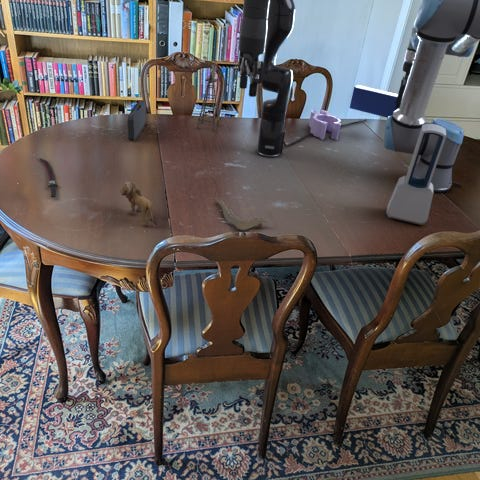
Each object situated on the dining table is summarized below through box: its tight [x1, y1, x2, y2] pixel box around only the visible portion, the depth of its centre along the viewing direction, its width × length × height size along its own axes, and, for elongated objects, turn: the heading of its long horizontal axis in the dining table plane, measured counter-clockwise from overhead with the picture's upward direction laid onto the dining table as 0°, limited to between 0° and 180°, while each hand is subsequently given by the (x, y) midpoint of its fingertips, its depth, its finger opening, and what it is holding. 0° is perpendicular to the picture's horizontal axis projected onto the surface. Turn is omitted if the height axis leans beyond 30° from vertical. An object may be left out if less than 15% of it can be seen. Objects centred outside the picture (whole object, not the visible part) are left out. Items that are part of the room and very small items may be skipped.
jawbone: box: [216, 198, 270, 232], centre depth 140 cm, size 9×20×2 cm, turn 50°
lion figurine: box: [119, 181, 159, 227], centre depth 134 cm, size 15×5×9 cm, turn 50°
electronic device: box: [386, 124, 446, 226], centre depth 142 cm, size 12×8×30 cm, turn 71°
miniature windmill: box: [196, 55, 220, 132], centre depth 197 cm, size 9×8×30 cm
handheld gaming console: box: [127, 99, 147, 141], centre depth 190 cm, size 23×3×10 cm, turn 178°
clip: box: [308, 109, 342, 141], centre depth 212 cm, size 20×12×7 cm, turn 11°
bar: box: [349, 84, 398, 119], centre depth 205 cm, size 25×5×10 cm, turn 58°
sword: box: [40, 158, 59, 198], centre depth 151 cm, size 31×3×1 cm, turn 26°
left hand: (247, 92), depth 141 cm, fingers open, 8 cm apart
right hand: (397, 117), depth 204 cm, fingers closed on bar, 5 cm apart
